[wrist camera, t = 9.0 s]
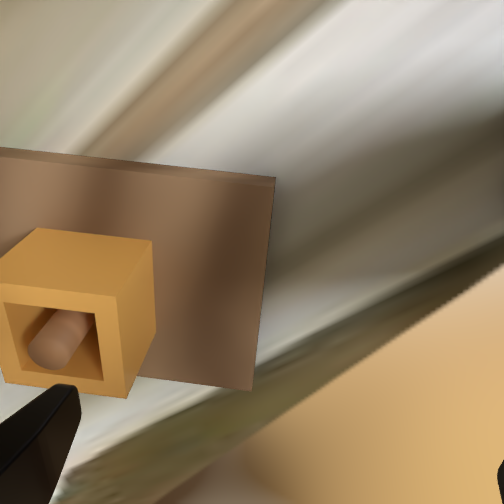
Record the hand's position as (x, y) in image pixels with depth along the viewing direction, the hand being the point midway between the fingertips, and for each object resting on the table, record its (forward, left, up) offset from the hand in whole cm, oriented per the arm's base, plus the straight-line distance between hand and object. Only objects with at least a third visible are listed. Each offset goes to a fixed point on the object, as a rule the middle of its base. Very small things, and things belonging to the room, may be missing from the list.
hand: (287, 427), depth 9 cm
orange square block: (+9, +5, -11) cm, 15 cm away
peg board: (+9, +5, -12) cm, 16 cm away
